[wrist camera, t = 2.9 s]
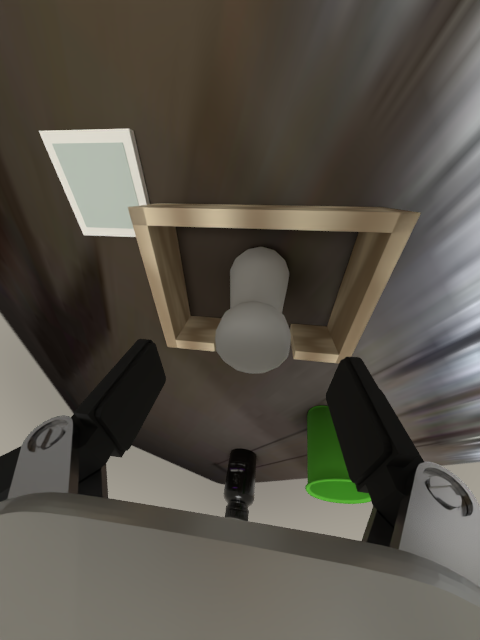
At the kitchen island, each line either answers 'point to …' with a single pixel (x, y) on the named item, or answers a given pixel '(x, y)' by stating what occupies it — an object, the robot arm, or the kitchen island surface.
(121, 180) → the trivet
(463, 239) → the kitchen island surface
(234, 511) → the supplement bottle
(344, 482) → the cup
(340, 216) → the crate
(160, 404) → the kitchen island surface
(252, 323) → the salt shaker
